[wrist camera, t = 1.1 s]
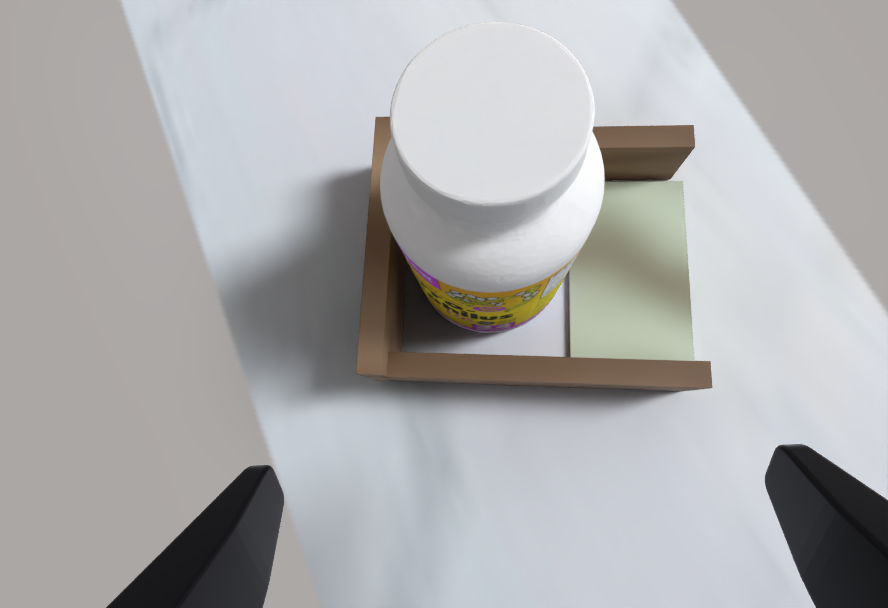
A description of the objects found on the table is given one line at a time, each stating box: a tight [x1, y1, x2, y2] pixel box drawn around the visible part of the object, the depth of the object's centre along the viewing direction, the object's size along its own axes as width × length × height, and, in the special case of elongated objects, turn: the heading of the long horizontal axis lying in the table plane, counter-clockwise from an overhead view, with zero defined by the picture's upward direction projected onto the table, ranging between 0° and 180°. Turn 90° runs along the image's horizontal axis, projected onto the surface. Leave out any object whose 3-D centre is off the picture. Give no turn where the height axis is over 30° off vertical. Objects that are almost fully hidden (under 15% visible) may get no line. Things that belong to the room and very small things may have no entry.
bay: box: [356, 117, 712, 391], centre depth 22 cm, size 11×14×4 cm
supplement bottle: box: [380, 22, 605, 333], centre depth 17 cm, size 7×7×13 cm
